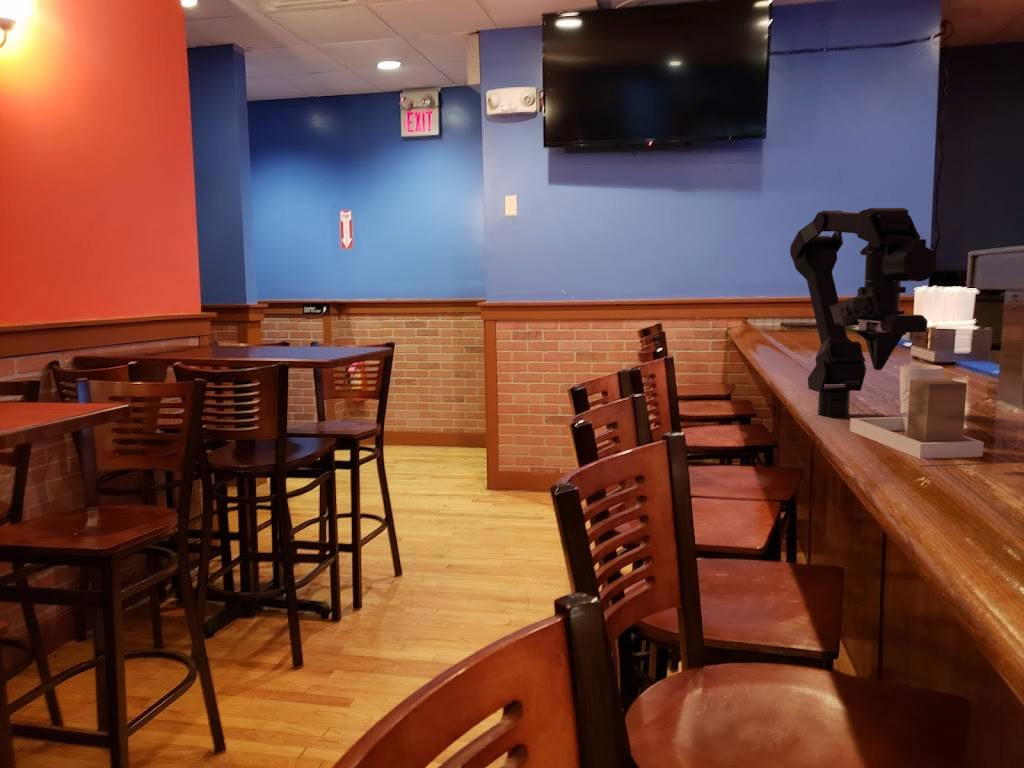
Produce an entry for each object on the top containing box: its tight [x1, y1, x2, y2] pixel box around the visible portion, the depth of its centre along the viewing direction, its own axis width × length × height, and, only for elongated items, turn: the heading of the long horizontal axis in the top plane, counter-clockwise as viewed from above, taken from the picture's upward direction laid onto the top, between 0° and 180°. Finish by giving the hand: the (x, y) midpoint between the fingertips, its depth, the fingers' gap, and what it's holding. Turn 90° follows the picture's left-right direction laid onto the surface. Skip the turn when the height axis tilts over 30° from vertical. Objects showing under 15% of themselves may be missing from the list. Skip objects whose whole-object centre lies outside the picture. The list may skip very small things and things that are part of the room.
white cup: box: [899, 363, 944, 414], centre depth 158 cm, size 8×8×10 cm
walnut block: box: [906, 378, 968, 443], centre depth 122 cm, size 5×6×11 cm
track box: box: [849, 416, 985, 468], centre depth 129 cm, size 21×10×4 cm, turn 4°
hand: (877, 369), depth 138 cm, fingers closed
